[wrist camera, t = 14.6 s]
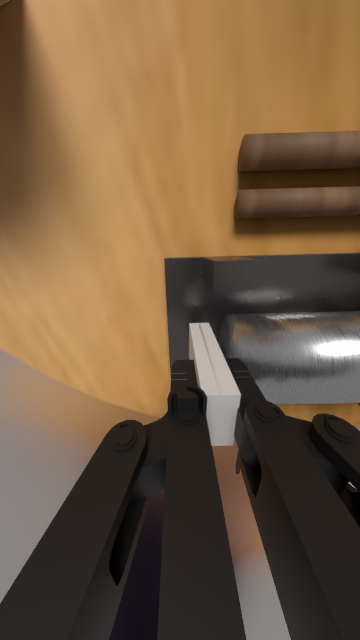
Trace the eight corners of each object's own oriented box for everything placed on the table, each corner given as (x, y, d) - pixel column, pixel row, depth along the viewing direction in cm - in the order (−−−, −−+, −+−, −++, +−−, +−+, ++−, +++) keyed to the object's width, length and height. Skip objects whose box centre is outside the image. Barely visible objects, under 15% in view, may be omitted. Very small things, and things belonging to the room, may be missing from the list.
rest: (233, 220, 12) (241, 216, 11) (239, 143, 11) (249, 127, 9) (373, 216, 12) (399, 212, 11) (400, 139, 11) (435, 122, 9)
